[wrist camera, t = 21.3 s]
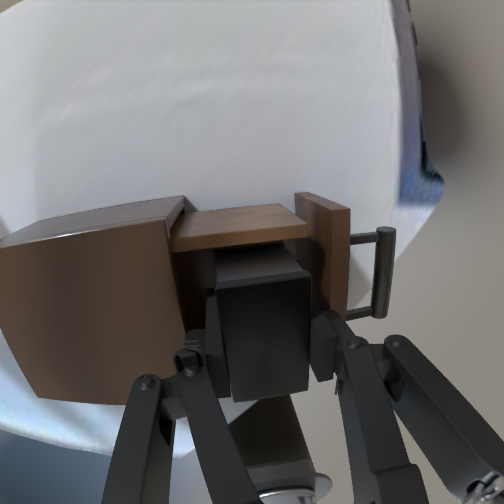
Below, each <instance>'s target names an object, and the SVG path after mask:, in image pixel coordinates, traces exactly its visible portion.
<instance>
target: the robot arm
mask: <svg viewBox="0 0 504 504" xmlns="http://www.w3.org/2000/svg"><path fill="white" fill-rule="evenodd" d="M173 361H174V364H175V368H176V371H177V373H176V374H174V375H173V376H170V377H167V378H164V379H160V377H159V376H157V375H155V374H144V375H141V376H139V377H138V378H137V379H135V381H134V382H133V385H132V388H131V391H130V394H129V398H128V401H127V404H126V408H125V411H124V414H123V418H122V421H121V425H120V429H119V432H118V436H117V439H116V443H115V447H114V451H113V455H112V459H111V463H110V467H109V471H108V475H107V480H106V484H105V489H104V494H103V498H102V503H101V504H169V490H170V477H171V466H172V455H173V445H174V435H175V426H176V419H179V418H183V417H186V416H187V418H188V422H189V426H190V430H191V434H192V438H193V441H194V445H195V449H196V452H197V456H198V459H199V462H200V466H201V469H202V472H203V475H204V478H205V481H206V485H207V488H208V491H209V494H210V497H211V500H212V502H213V504H317V498H316V495H315V492H314V489H313V488H311V487H309V486H303V485H291V486H281V487H275V488H270V489H265V490H261V491H258V492H257V491H256V489H255V486H254V484H253V482H252V480H251V478H250V476H249V473H248V471H247V469H246V467H245V465H244V462H243V460H242V458H241V455H240V453H239V451H238V448H237V446H236V444H235V441H234V439H233V436H232V434H231V431H230V429H229V426H228V424H227V421H226V419H225V416H224V414H223V411H222V409H221V406H220V403H219V401H218V398H226V397H231V390H230V380H229V373H228V367H227V361H226V356H225V350H224V344H223V338H222V333H221V328H220V322H219V315H218V309H217V303H216V296H215V289H214V288H207V296H206V328H204V329H194V330H189V331H188V333H187V334H186V335H185V340H184V348H182V349H179V350H178V351H176V352H175V354H174V355H173ZM309 363H310V365H311V368H312V370H313V372H314V374H315V376H316V378H317V381H318V382H322V381H327V380H331V379H333V373H334V372H335V373H336V375H337V382H336V388H335V395H336V394H337V391H338V396H339V402H340V407H341V413H342V418H343V425H344V431H345V436H346V443H347V449H348V456H349V463H350V470H351V477H352V485H353V493H354V504H429V501H428V498H427V494H426V490H425V486H424V482H423V479H422V475H421V472H420V469H419V467H418V466H417V465H416V464H411V463H410V461H409V459H408V455H407V452H406V448H405V446H404V442H403V439H402V436H401V433H400V429H399V426H398V423H397V420H396V417H395V414H394V411H395V412H396V414H397V415H398V417H399V418H400V420H401V421H402V422H403V424H404V425H405V427H406V428H407V430H408V431H409V433H410V434H411V435H412V437H413V438H414V440H415V441H416V443H417V444H418V446H419V447H420V449H421V450H422V452H423V453H424V455H425V456H426V458H427V459H428V461H429V462H430V464H431V465H432V467H433V468H434V470H435V471H436V473H437V474H438V476H439V477H440V479H441V480H442V482H443V483H444V485H445V486H446V488H447V489H448V490H449V492H450V493H451V494H452V495H453V496H454V497H455V498H456V499H457V500H458V501H459V502H460V503H462V504H504V442H503V440H502V439H501V438H500V437H499V436H498V434H497V433H496V432H495V431H494V430H493V429H492V428H491V426H490V425H489V424H488V423H487V422H486V421H485V420H484V418H483V417H482V416H481V415H480V414H479V413H478V412H477V411H476V410H475V409H474V407H473V406H472V405H471V404H470V403H469V402H468V401H467V400H466V399H465V398H464V396H462V394H461V393H460V392H459V391H458V390H457V389H456V388H455V387H454V386H453V385H452V384H451V383H450V381H449V380H448V379H447V378H446V377H445V376H444V375H443V374H442V373H441V372H440V371H439V370H438V369H437V368H436V367H435V366H434V365H433V364H432V363H431V362H430V361H429V360H428V359H427V358H426V357H425V356H424V355H423V354H422V353H421V352H420V351H419V349H418V348H417V347H416V346H415V345H414V344H413V343H412V342H411V341H410V340H409V339H407V338H406V337H404V336H402V335H390V336H388V337H386V339H385V340H384V344H369V343H368V342H367V340H366V339H364V338H362V337H358V336H355V334H354V333H353V332H352V330H351V329H350V328H349V326H348V325H347V324H346V322H345V321H344V320H343V318H342V317H341V316H340V314H339V313H337V312H336V311H334V310H326V311H321V309H320V308H319V306H318V305H317V303H316V302H315V301H314V299H313V298H312V305H311V339H310V362H309ZM393 409H394V411H393Z"/></svg>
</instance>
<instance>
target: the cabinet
mask: <svg viewBox="0 0 504 504" xmlns="http://www.w3.org/2000/svg"><path fill="white" fill-rule="evenodd" d="M185 213H187V212H186V204H185V196H184V195H181V196H174V197H167V198H160V199H153V200H146V201H140V202H134V203H127V204H121V205H116V206H110V207H104V208H99V209H93V210H88V211H83V212H78V213H73V214H68V215H63V216H59V217H54V218H49V219H45V220H41V221H37V222H35V223H33V224H31V225H29V226H27V227H24V228H22V229H20V230H18V231H16V232H14V233H12V234H10V235H8V236H6V237H4V238H2V239H0V328H1V330H2V333H3V335H4V337H5V339H6V341H7V343H8V345H9V348H10V350H11V352H12V354H13V355H14V357H15V359H16V361H17V363H18V365H19V367H20V369H21V370H22V372H23V374H24V376H25V377H26V379H27V381H28V383H29V384H30V386H31V388H32V389H33V391H34V392H35V394H36V396H37V397H39V398H45V399H53V400H60V401H69V402H79V403H91V404H108V405H126V404H127V401H128V398H129V394H130V391H131V388H132V385H133V382H134V381H135V379H137V378H138V377H139V376H141V375H144V374H155V375H157V376H159V377H160V379H164V378H167V377H170V376H173V375H174V374H176V373H177V371H176V368H175V364H174V361H173V355H174V354H175V352H176V351H178V350H179V349H182V348H184V340H185V335H186V334H187V333H188V328H187V323H186V319H185V314H184V309H183V304H182V300H181V295H180V290H179V285H178V279H177V274H176V269H175V263H174V257H173V251H172V245H171V239H170V233H169V230H170V228H171V227H172V225H173V223H174V222H175V220H176V218H177V217H178V215H179V214H185Z"/></svg>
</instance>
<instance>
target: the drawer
mask: <svg viewBox="0 0 504 504" xmlns="http://www.w3.org/2000/svg"><path fill="white" fill-rule="evenodd" d="M295 213H296V215H295V214H294V213H292V212H291V211H289V210H288V209H287V208H285V207H284V206H282V205H281V204H280V203H278V204H267V205H256V206H246V207H237V208H227V209H218V210H210V211H201V212H193V213H185V214H179V215H178V217H177V218H176V220H175V222H174V223H173V225H172V227H171V228H170V230H169V233H170V239H171V245H172V251H173V257H174V263H175V269H176V274H177V279H178V285H179V290H180V295H181V300H182V304H183V309H184V314H185V319H186V323H187V328H188V331H189V330H194V329H204V328H206V296H207V288H214V283H215V282H217V281H216V264H215V251H216V250H223V249H231V248H240V247H248V246H257V245H265V244H274V243H282V244H283V245H284V240H288V239H297V263H298V264H299V265H300V266H301V268H302V269H303V270H307V271H308V272H309V273H310V274H311V276H312V298H313V299H314V301H315V302H316V303H317V305H318V306H319V308H320V309H321V311H326V310H334V311H336V312H337V313H339V314H340V316H341V317H342V318H343V320H344V321H349V320H354V319H358V318H363V317H367V316H372V317H373V318H378V319H382V318H385V317H386V316H387V313H388V307H389V300H390V292H391V284H392V276H393V266H394V256H395V243H396V229H395V228H392V227H386V226H383V227H378V228H377V229H376V232H369V233H359V234H350V208H347V207H345V206H343V205H340V204H338V203H335V202H333V201H330V200H328V199H325V198H323V197H320V196H318V195H315V194H312V193H310V192H299V193H295ZM372 242H376V247H375V263H374V275H373V286H372V297H371V306H367V307H362V308H357V309H352V310H347V297H348V281H349V260H350V245H355V244H364V243H372ZM346 310H347V311H346Z"/></svg>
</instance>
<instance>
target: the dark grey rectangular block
mask: <svg viewBox="0 0 504 504" xmlns="http://www.w3.org/2000/svg"><path fill="white" fill-rule="evenodd" d="M215 264H216V281H217V282H215V283H214V289H215V296H216V303H217V309H218V315H219V322H220V328H221V333H222V338H223V344H224V350H225V356H226V361H227V367H228V373H229V380H230V385H231V391H232V396H233V401H234V403H237V402H245V401H252V400H259V399H265V398H271V397H277V396H282V395H287V394H293V393H297V392H302V391H307V390H308V382H309V364H310V363H309V362H310V339H311V305H312V276H311V274H310V273H309V272H308V271H307V270H303V269H302V268H301V266H300V265H299V264H298V263H297V261H296V260H295V259H294V257H293V256H292V255H291V254H290V252H289V251H288V250H287V249H286V247H285V246H284V245H283V244H282V243H274V244H265V245H257V246H248V247H240V248H231V249H223V250H216V251H215Z"/></svg>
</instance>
